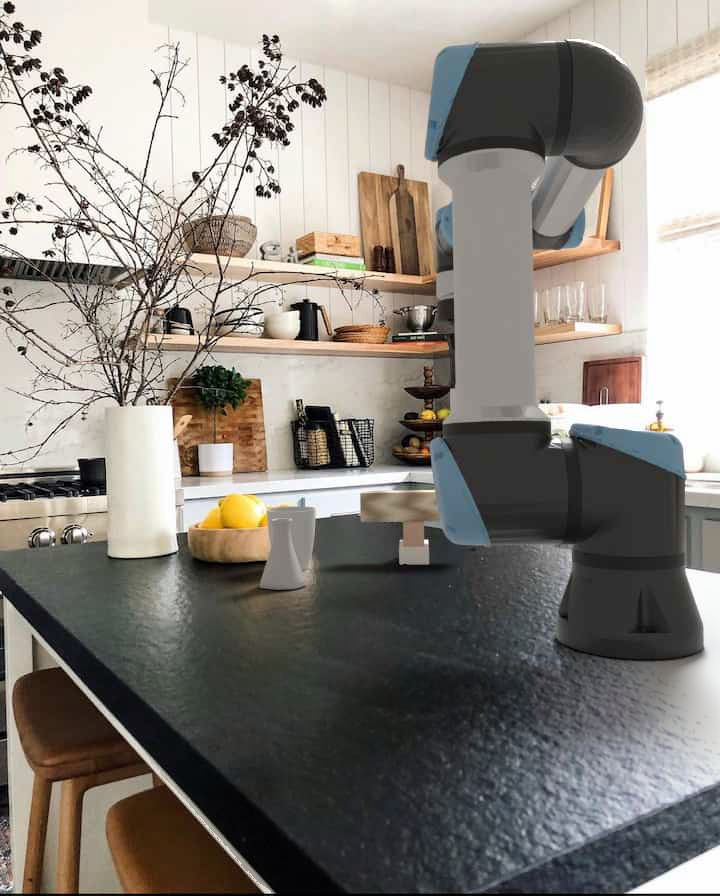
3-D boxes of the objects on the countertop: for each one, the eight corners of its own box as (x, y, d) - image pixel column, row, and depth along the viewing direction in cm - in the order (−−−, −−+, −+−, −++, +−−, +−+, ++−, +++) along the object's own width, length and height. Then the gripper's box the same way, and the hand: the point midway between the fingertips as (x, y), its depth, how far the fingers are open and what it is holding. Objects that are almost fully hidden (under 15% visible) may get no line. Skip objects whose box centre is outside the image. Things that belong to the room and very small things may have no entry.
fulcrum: (429, 564, 138) (428, 522, 137) (399, 564, 138) (398, 523, 138) (428, 556, 146) (427, 517, 145) (400, 556, 146) (399, 517, 146)
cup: (320, 564, 139) (319, 506, 139) (312, 573, 131) (311, 511, 131) (273, 564, 140) (272, 506, 140) (263, 573, 132) (261, 511, 132)
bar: (464, 518, 143) (464, 489, 143) (466, 520, 139) (465, 491, 139) (362, 519, 144) (361, 491, 144) (360, 522, 140) (360, 493, 140)
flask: (300, 592, 117) (298, 522, 117) (251, 591, 119) (250, 522, 119) (312, 582, 125) (311, 516, 124) (267, 581, 126) (265, 516, 126)
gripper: (489, 285, 126) (491, 423, 126) (474, 310, 151) (476, 425, 151) (440, 287, 126) (442, 424, 127) (434, 311, 151) (435, 425, 152)
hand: (461, 425), depth 139 cm, fingers open, 13 cm apart
